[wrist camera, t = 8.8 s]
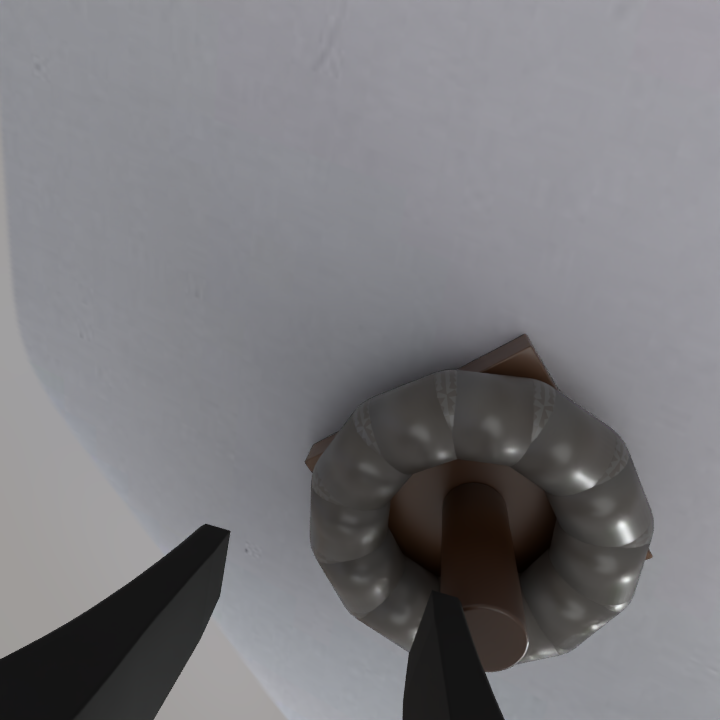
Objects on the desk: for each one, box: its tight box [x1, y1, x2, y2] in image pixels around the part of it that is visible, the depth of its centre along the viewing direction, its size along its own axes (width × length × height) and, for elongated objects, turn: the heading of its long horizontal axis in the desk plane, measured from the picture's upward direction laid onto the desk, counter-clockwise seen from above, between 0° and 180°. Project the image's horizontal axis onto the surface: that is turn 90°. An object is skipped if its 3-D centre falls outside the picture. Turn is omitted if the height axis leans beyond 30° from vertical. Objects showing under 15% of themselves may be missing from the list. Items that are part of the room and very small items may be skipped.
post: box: [305, 334, 652, 672], centre depth 15 cm, size 8×8×6 cm
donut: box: [310, 370, 654, 665], centre depth 15 cm, size 10×10×2 cm
